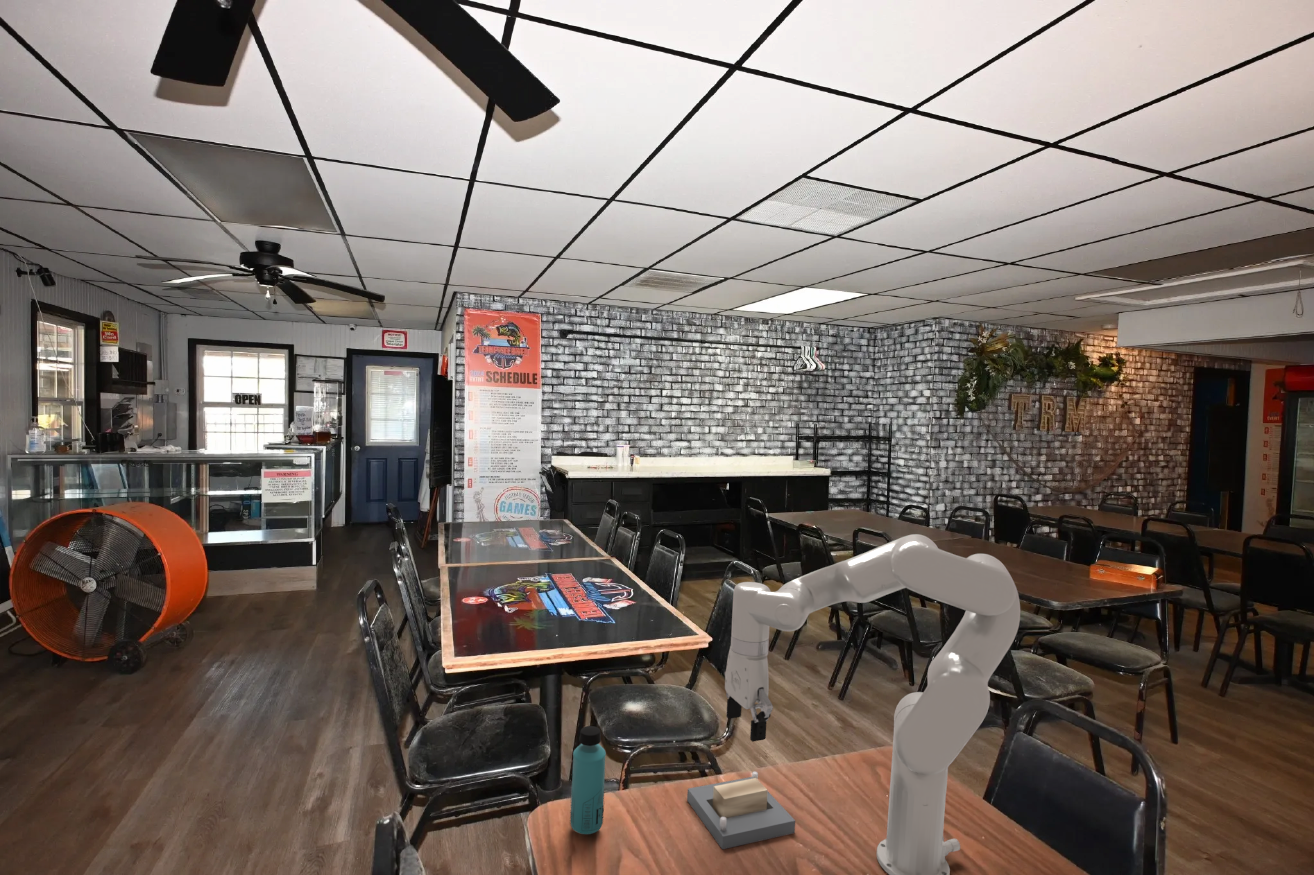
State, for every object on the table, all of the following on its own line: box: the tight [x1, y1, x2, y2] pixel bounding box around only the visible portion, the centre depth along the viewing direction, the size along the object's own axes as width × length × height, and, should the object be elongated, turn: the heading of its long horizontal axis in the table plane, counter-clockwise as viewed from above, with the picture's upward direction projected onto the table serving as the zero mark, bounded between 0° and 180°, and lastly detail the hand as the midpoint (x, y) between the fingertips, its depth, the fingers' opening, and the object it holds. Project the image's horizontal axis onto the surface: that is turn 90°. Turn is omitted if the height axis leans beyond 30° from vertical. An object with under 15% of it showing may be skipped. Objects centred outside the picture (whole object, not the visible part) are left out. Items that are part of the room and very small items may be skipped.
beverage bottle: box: [569, 725, 607, 835], centre depth 124 cm, size 6×7×20 cm
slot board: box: [686, 771, 796, 850], centre depth 131 cm, size 16×16×4 cm
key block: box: [713, 778, 769, 818], centre depth 131 cm, size 4×10×6 cm, turn 113°
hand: (745, 728), depth 131 cm, fingers open, 9 cm apart
